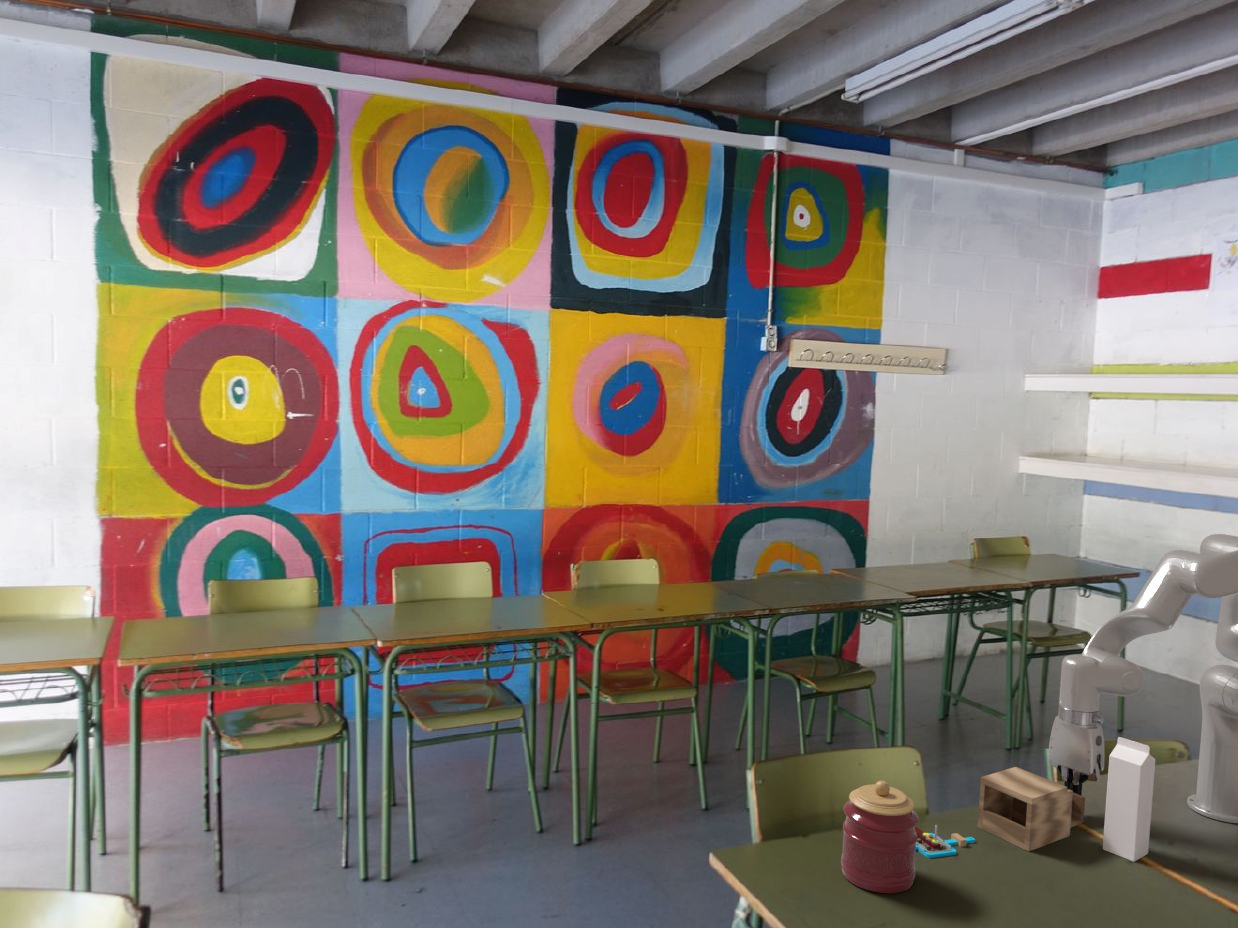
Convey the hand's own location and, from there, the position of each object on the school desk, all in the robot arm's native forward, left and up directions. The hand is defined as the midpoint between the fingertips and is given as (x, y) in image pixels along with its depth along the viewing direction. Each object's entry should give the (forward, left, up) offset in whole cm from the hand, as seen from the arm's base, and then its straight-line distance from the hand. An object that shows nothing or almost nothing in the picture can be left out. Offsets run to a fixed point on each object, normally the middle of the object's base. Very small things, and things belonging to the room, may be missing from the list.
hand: (1072, 799), depth 198 cm
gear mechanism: (+39, -6, -4) cm, 39 cm away
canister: (+57, -2, -3) cm, 57 cm away
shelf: (+17, 0, -3) cm, 17 cm away
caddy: (+9, 0, -3) cm, 9 cm away
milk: (+6, +15, -3) cm, 17 cm away
